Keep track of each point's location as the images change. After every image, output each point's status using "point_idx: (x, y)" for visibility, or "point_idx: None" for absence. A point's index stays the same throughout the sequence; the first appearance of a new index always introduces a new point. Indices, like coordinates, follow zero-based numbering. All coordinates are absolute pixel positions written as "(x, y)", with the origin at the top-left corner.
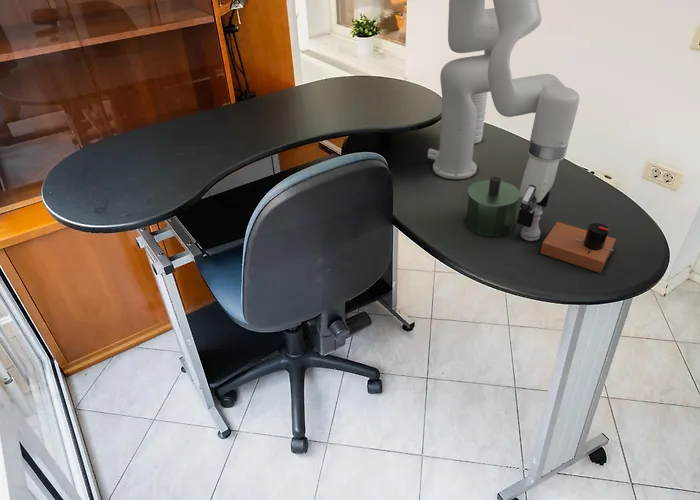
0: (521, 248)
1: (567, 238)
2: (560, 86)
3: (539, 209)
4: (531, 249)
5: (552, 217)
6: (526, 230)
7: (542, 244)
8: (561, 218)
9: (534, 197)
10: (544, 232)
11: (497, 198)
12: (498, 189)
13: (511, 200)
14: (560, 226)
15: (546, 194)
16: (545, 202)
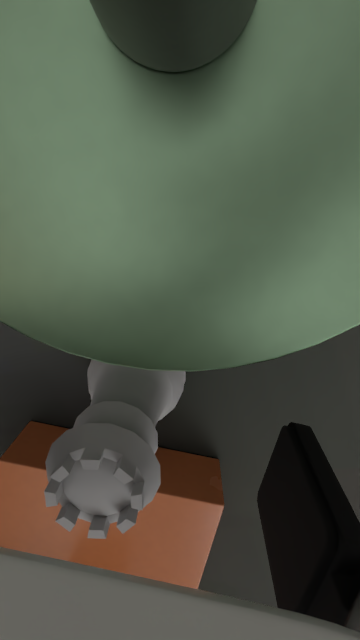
0: (28, 343)
1: (87, 550)
2: None
3: (110, 513)
4: (41, 384)
5: (345, 441)
6: (96, 370)
7: (4, 453)
8: (345, 475)
9: (300, 464)
10: (201, 420)
11: (6, 90)
12: (119, 13)
13: (40, 295)
14: (181, 520)
15: (284, 607)
16: (266, 527)
